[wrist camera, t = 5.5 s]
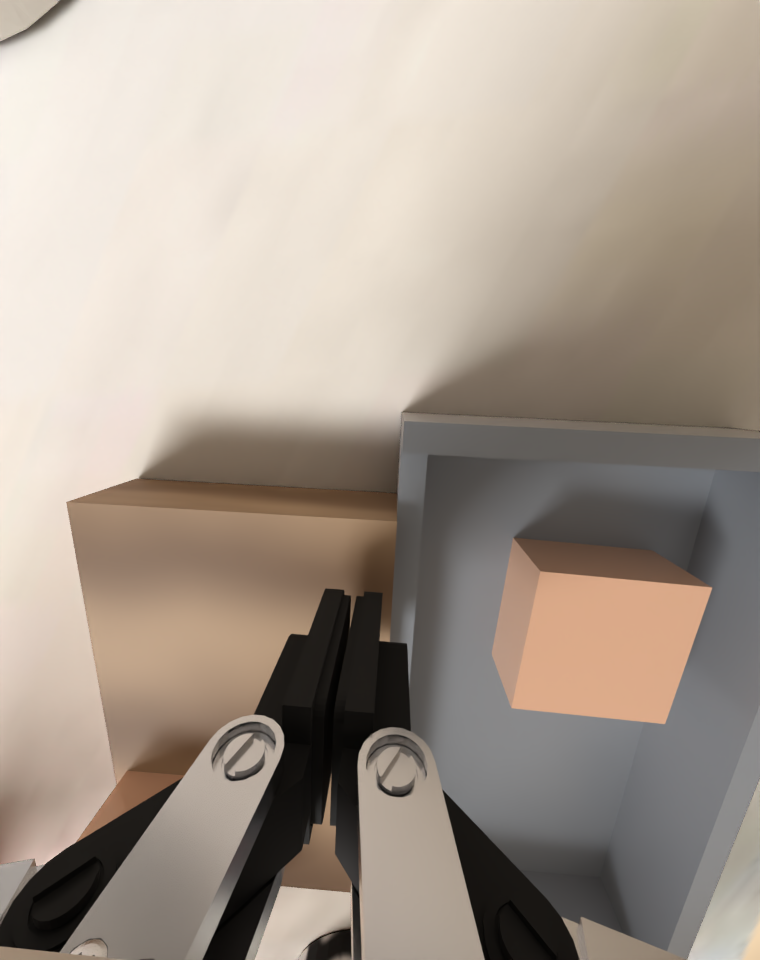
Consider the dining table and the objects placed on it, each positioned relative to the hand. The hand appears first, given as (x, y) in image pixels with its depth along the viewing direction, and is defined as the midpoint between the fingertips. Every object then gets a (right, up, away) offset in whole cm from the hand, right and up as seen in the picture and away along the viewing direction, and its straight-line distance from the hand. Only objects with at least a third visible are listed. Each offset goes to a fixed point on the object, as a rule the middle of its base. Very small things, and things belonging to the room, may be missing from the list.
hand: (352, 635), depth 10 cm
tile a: (+8, -1, +1) cm, 8 cm away
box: (+7, -4, +5) cm, 9 cm away
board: (-4, -3, +5) cm, 7 cm away
